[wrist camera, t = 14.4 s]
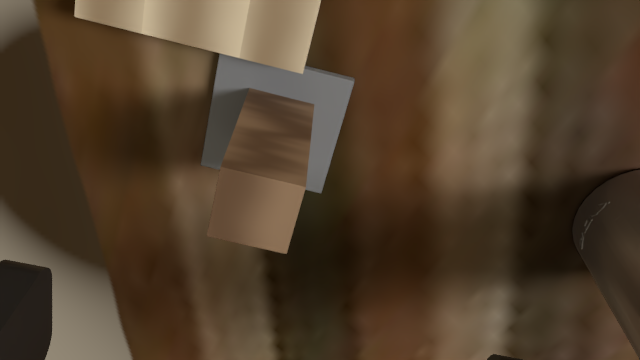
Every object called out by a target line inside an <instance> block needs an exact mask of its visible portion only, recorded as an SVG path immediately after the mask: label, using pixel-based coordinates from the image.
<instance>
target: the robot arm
mask: <svg viewBox="0 0 640 360" xmlns="http://www.w3.org/2000/svg"><path fill="white" fill-rule="evenodd" d="M572 233H573V241H574V243H575V246H576V248H577V250H578V252H579V254H580V256H581V257H582V259H583V261H584V263H585V264H586V266H587V268H588V270H589V271H590V273H591V275H592V277H593V278H594V280H595V282H596V284H597V286H598V288H599V289H600V291H601V293H602V295H603V296H604V298H605V300H606V302H607V303H608V305H609V307H610V309H611V310H612V312H613V314H614V316H615V317H616V319H617V321H618V323H619V324H620V326H621V328H622V329H623V331H624V333H625V335H626V336H627V338H628V340H629V342H630V343H631V345H632V347H633V349H634V350H635V352H636V354H637V356H638V357H639V359H640V170H635V171H631V172H628V173H624V174H621V175H619V176H617V177H614V178H612V179H610V180H608V181H606V182H605V183H603V184H602V185H601V186H599V187H598V188H596V189H595V190H594V191H593V192H592V193H591V194H590V195H589V196H588V197H587V198H586V199H585V200H584V202H583V203H582V205H581V206H580V207H579V209H578V211H577V214H576V216H575V218H574V222H573V228H572ZM51 336H52V273H51V270H50V269H49V268H46V267H40V266H36V265H30V264H25V263H20V262H15V261H10V260H3V261H1V262H0V360H45V357H46V355H47V351H48V349H49V345H50V341H51ZM487 360H522V359H517V358H511V357H506V356H501V355H496V354H493V355H491V356H490V357H489V358H488V359H487Z"/></svg>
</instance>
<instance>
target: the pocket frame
mask: <svg viewBox="0 0 640 360" xmlns="http://www.w3.org/2000/svg"><path fill="white" fill-rule="evenodd" d="M320 3H321V0H75V17H77V18H81V19H85V20H89V21H93V22H97V23H101V24H105V25H109V26H113V27H117V28H121V29H125V30H129V31H133V32H137V33H141V34H145V35H149V36H153V37H157V38H161V39H165V40H169V41H173V42H177V43H181V44H185V45H189V46H193V47H197V48H201V49H205V50H209V51H213V52H217V53H221V54H225V55H229V56H233V57H237V58H241V59H245V60H249V61H253V62H257V63H261V64H265V65H269V66H273V67H277V68H281V69H285V70H289V71H293V72H297V73H301V74H303V71H304V67H305V63H306V59H307V55H308V51H309V47H310V43H311V39H312V35H313V31H314V27H315V23H316V19H317V15H318V11H319V7H320Z"/></svg>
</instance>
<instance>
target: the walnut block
mask: <svg viewBox="0 0 640 360" xmlns="http://www.w3.org/2000/svg"><path fill="white" fill-rule="evenodd" d="M313 113H314V104H311V103H307V102H303V101H299V100H295V99H291V98H287V97H283V96H280V95H276V94H272V93H268V92H264V91H260V90H256V89H252V88H249V91H248V93H247V96H246V99H245V101H244V104H243V107H242V110H241V112H240V115H239V118H238V120H237V123H236V126H235V129H234V131H233V134H232V137H231V139H230V142H229V145H228V148H227V150H226V153H225V156H224V158H223V161H222V164H221V167H220V172H219V177H218V182H217V187H216V192H215V197H214V202H213V207H212V212H211V217H210V222H209V227H208V232H207V236H209V237H213V238H217V239H222V240H226V241H231V242H235V243H240V244H244V245H248V246H253V247H257V248H262V249H266V250H270V251H275V252H279V253H284V254H287V251H288V247H289V244H290V240H291V237H292V234H293V230H294V227H295V223H296V220H297V216H298V213H299V209H300V206H301V202H302V199H303V195H304V192H305V188H306V181H307V172H308V162H309V152H310V142H311V133H312V123H313Z"/></svg>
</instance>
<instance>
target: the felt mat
mask: <svg viewBox="0 0 640 360" xmlns="http://www.w3.org/2000/svg"><path fill="white" fill-rule="evenodd" d="M353 84H354V78H352V77H348V76H344V75H340V74H336V73H332V72H328V71H324V70H320V69H316V68H312V67H308V66H305V67H304V71H303V74H301V73H297V72H293V71H289V70H285V69H281V68H277V67H273V66H269V65H265V64H261V63H257V62H253V61H249V60H245V59H241V58H237V57H233V56H229V55H225V54H221V53H220V55H219V61H218V67H217V72H216V78H215V84H214V90H213V96H212V102H211V108H210V113H209V119H208V125H207V131H206V137H205V143H204V148H203V154H202V160H201V166H206V167H210V168H214V169H219V170H220V167H221V164H222V161H223V158H224V156H225V153H226V150H227V148H228V145H229V142H230V139H231V137H232V134H233V131H234V129H235V126H236V123H237V120H238V118H239V115H240V112H241V110H242V107H243V104H244V101H245V99H246V96H247V93H248V91H249V88H252V89H256V90H260V91H264V92H268V93H272V94H276V95H280V96H283V97H287V98H291V99H295V100H299V101H303V102H307V103H311V104H314V113H313V123H312V133H311V142H310V152H309V162H308V172H307V181H306V188H305V190H309V191H314V192H318V193H321V192H322V189H323V185H324V182H325V179H326V175H327V172H328V169H329V165H330V162H331V158H332V155H333V152H334V148H335V145H336V142H337V138H338V135H339V131H340V128H341V125H342V121H343V118H344V115H345V111H346V108H347V105H348V101H349V98H350V94H351V91H352V88H353Z"/></svg>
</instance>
